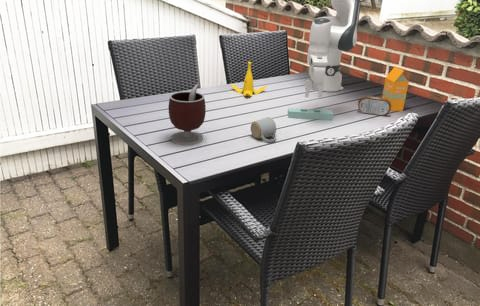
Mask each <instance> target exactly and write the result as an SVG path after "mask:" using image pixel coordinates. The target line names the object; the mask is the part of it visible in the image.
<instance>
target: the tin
mask: <svg viewBox="0 0 480 306" xmlns="http://www.w3.org/2000/svg"><path fill="white" fill-rule="evenodd" d="M357 108H358V110H359V111H360V112H361V113H362V114H367V115H374V116H379V117H383V116H387V115H388V114H389V113H390V112H391V111H390V109H391V103H390V101H389V100H388V99H386V98H382V97H378V96H373V95H364V96H362V97H360V99H359V100H358V102H357Z"/></svg>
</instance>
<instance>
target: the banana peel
mask: <svg viewBox="0 0 480 306" xmlns="http://www.w3.org/2000/svg"><path fill="white" fill-rule="evenodd" d="M230 86H231V87H232V88H233V89H234V91H235V92H236V93H239V94H242V96H243V97H253V95H254V94H255V95H257V94H260V93H262V92H263V91H264V90H265V89H266V88H267V85H265V84H264V85H263V86H262V87H261V88H258V89H254V77H253V73H252V62H251V61H247V71H246V74H245V77H244V81H243V87H242V88H239V87H238V86H236V85H234V84H233V83H231V85H230Z"/></svg>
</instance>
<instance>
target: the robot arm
mask: <svg viewBox="0 0 480 306" xmlns="http://www.w3.org/2000/svg"><path fill="white" fill-rule="evenodd" d="M330 2H331V3H330V4H331V7H332V9H333V10H334V11H336V14H335V16H320V17H317V18H315V19H314V20H313V21H312V23H311V26H310V31H309V37H308V43H309V45H308V48H307V57H306V62H308V63H309V66H308V74H309V77H310V78H311V79H310V80H312V81H313V88H312V89H313V90H312V91H314V92H315V91H316V92H317V91H318V90H317V86H318V84H320V85H321V84H322V83H323V80H324V81H325V82H324V90H323V92H328V93H329V92H337V91H340V90H344V86H342V80H343V79H342V78H343V75H342V73H341V72H340V71H341V66H342V65H341V61H342V59H341V58H342V53H343V52H346V53H348V52H349V51H351V50H352V49H354V48H355V47H356V44H357V40H358V26H359V21H360V20H359V19H360V12H361V11H360V10H361V3H362V1H361V0H330Z"/></svg>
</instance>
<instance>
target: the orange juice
mask: <svg viewBox="0 0 480 306" xmlns="http://www.w3.org/2000/svg"><path fill="white" fill-rule="evenodd" d="M409 84H410V81H409V79H408V77H407V75H406V73H405V70H404V69H402V68H399V67H397V66H394V67H393V68H392V69H391V70H390V72H389V73H388V74H387V75H386V76H385V79H384V86H383V91H382V96H381V98H386V99H388V100H389V101H390V103H391V109H390V112H403V111H404V107H405V103H406V99H407V92H408V88H409Z"/></svg>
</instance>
